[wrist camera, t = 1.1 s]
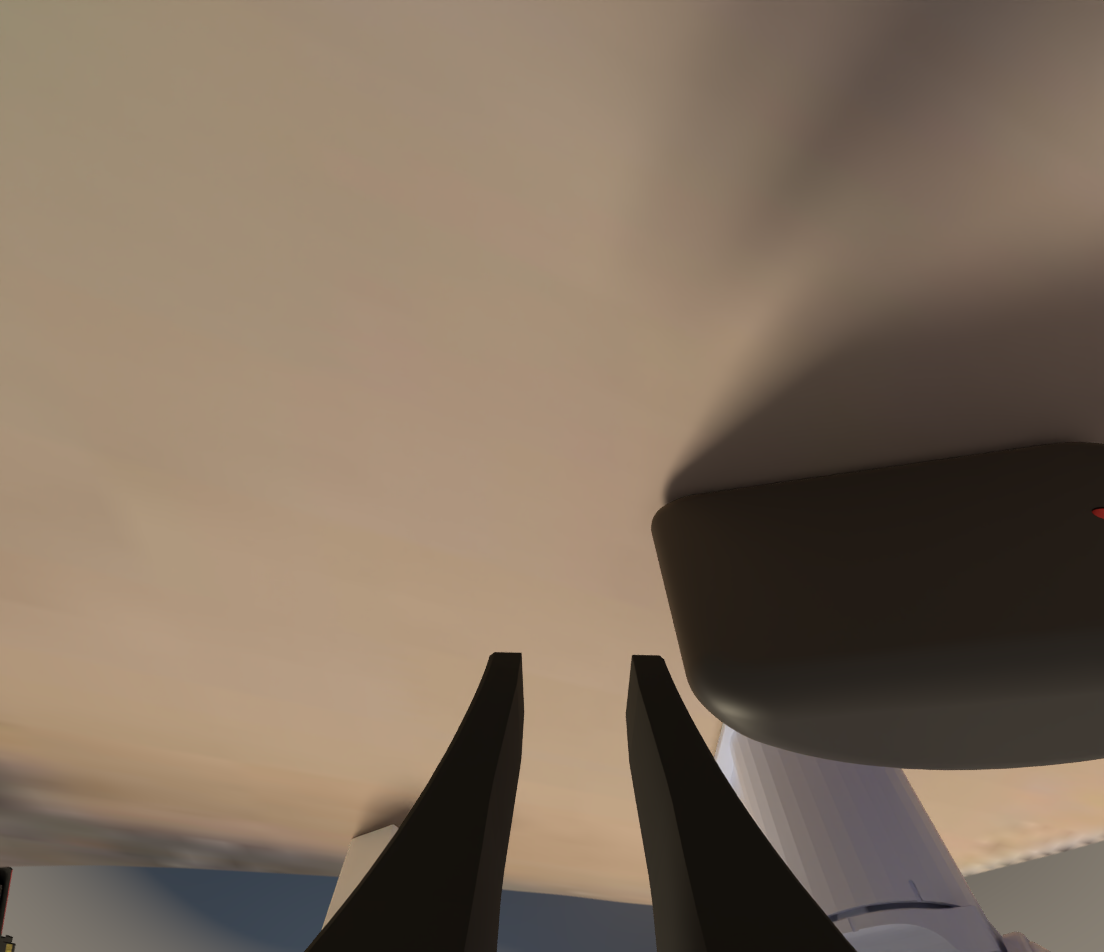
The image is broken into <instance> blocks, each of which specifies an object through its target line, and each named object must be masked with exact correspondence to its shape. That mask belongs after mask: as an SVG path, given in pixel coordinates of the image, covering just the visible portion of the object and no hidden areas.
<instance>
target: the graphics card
mask: <svg viewBox="0 0 1104 952" xmlns="http://www.w3.org/2000/svg"><path fill="white" fill-rule="evenodd" d="M12 872H13V869H12V868H11V867H0V952H14V951H15V946H16V944H15V943H11V942H12V940H13V937H12V936H9V935H6V936H5V937H3V936H2V930H3V925H4V919H5V912H6V907H7V901H8V895H9V889H10V883H11V878H12Z"/></svg>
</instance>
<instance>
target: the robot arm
mask: <svg viewBox="0 0 1104 952" xmlns="http://www.w3.org/2000/svg"><path fill="white" fill-rule="evenodd" d="M523 723H524V697H523V675H522V654H521V653H504V652H494V653H493V654H492V655H490V657H489V660H488V663H487V666H486V669H485V671H484V674H483V677H482V679H481V682H480V684H479V686H478V689H477V691H476V693H475V695H474V698H473V700H472V702H471V704H470V706H469V708H468V711H467V712H466V714H465V716H464V718H463V720H462V722H461V724H460V726H459V728H458V730H457V732H456V734H455V736H454V738H453V740H452V742H451V744H450V745H449V747H448V749H447V751H446V753H445V754H444V756H443V758H442V760H441V761H440V763H439V765H438V766H437V768H436V770H435V772H434V773H433V775H432V777H431V779H430V780H429V782H428V784H427V785H426V787H425V789H424V790H423V792H422V793H421V795H420V797H419V798H418V800H417V801H416V803H415V804H414V806H413V808H412V809H411V811H410V812H409V814H408V815H407V817H406V818H405V820H404V821H403V823H402V824H401V826H400V827H399V829H398V830H397V832H396V833H395V835H394V836H393V837H392V839H391V840H390V842H389V843H388V844H387V846H386V847H385V849H384V850H383V851H382V853H381V854H380V856H379V857H378V858H377V860H376V861H375V863H374V864H373V865H372V867H371V868H370V869H369V871H368V872H367V873H366V875H365V876H364V877H363V879H362V880H361V881H360V883H359V884H358V885H357V887H356V888H355V889H354V891H353V892H352V893H351V895H350V896H349V897H348V898H347V900H346V901H345V902H344V903H343V904H342V906H341V907H340V908H339V909H338V911H337V912H336V913H335V914H334V916H333V917H332V918H331V919H330V921H329V922H328V923H327V924H326V926H325V927H324V928H323V929H322V930H321V932H320V933H319V934H318V935H317V937H316V938H315V939H314V940H313V942H312V943H311V944H310V945H309V947H308V948H307V949H306V950H305V951H304V952H497V939H498V927H499V914H500V901H501V892H502V884H503V876H504V868H505V862H506V855H507V849H508V843H509V836H510V830H511V823H512V817H513V810H514V804H515V797H516V791H517V784H518V778H519V771H520V764H521V755H522V739H523ZM626 723H627V738H628V751H629V763H630V769H631V775H632V781H633V787H634V793H635V799H636V804H637V810H638V816H639V822H640V828H641V834H642V839H643V845H644V851H645V857H646V863H647V869H648V874H649V881H650V888H651V896H652V903H653V914H654V924H655V935H656V945H657V952H1050V951H1049V950H1047V949H1045V948H1043V947H1042V946H1040V945H1038V944H1036V943H1035V942H1030V941H1029V940H1028V939H1027V937H1026V936H1025V935H1024V934H1022V933H1020V932H1012V933H1008V934H1004V935H1003V937H1002V936H1001V935H1000V933H999V932H998V931H997V930H996V929H995V928H994V926H993V925H992V924H991V923H990V922H989V920H988V919H987V917H986V916H985V914H984V912H983V910H982V909H981V907H980V905H979V903H978V902H977V900H976V898H975V896H974V895H973V893H972V891H971V889H970V888H969V886H968V884H967V882H966V881H965V879H964V877H963V875H962V874H961V872H960V870H959V868H958V867H957V865H956V863H955V861H954V860H953V858H952V856H951V854H950V853H949V851H948V849H947V847H946V846H945V844H944V842H943V840H942V839H941V837H940V835H939V833H938V832H937V830H936V828H935V826H934V825H933V823H932V821H931V819H930V818H929V816H928V814H927V812H926V811H925V809H924V807H923V805H922V804H921V802H920V800H919V798H918V797H917V795H916V793H915V791H914V790H913V788H912V786H911V784H910V783H909V781H908V779H907V777H906V776H905V774H904V772H903V770H902V769H901V768H891V767H880V766H869V765H861V764H853V763H846V762H840V761H834V760H828V759H822V758H817V757H813V756H808V755H803V754H799V753H795V752H791V751H787V750H783V749H780V748H777V747H773V746H770V745H767V744H764V743H761V742H758V741H755V740H752V739H750V738H748V737H746V736H744V735H742V734H740V733H738V732H736V731H735V730H733V729H731V728H730V727H728V726H727V725H726V724H724V723H723V725H722V729H721V733H720V737H719V741H718V745H717V748H716V752H715V756H714V757H713V756H712V754H711V752H710V750H709V749H708V747H707V745H706V743H705V742H704V740H703V738H702V736H701V735H700V733H699V731H698V729H697V728H696V726H695V724H694V722H693V720H692V718H691V716H690V715H689V713H688V711H687V709H686V707H685V705H684V703H683V701H682V699H681V697H680V695H679V693H678V691H677V689H676V686H675V684H674V682H673V680H672V678H671V675H670V673H669V671H668V668H667V666H666V664H665V661H664V659H663V658H662V657H661V656H657V655H632V661H631V670H630V680H629V689H628V698H627V708H626Z"/></svg>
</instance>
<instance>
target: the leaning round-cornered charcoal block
mask: <svg viewBox="0 0 1104 952" xmlns="http://www.w3.org/2000/svg"><path fill="white" fill-rule="evenodd" d="M651 531H652V536H653V540H654V544H655V548H656V552H657V557H658V561H659V565H660V569H661V573H662V577H663V581H664V586H665V590H666V594H667V598H668V602H669V606H670V611H671V615H672V619H673V623H674V627H675V631H676V635H677V640H678V644H679V648H680V652H681V656H682V660H683V665H684V669H685V673H686V677H687V680H688V683H689V685H690V687H691V689H692V691H693V693H694V695H695V696H696V697H697V699H698V700H699V701H700V702H701V704H702V705H703V706H704V707H705V708H706V709H707V710H708V711H710V712H711V713H712V714H713V715H714V716H715V717H716V718H718V719H719V720H720V721H721V722H723V723H724V724H726V725H727V726H728V727H730V728H731V729H733V730H735V731H736V732H738V733H740V734H742V735H744V736H746V737H748V738H750V739H752V740H755V741H758V742H761V743H764V744H767V745H770V746H773V747H777V748H780V749H783V750H787V751H791V752H795V753H799V754H803V755H808V756H813V757H817V758H822V759H828V760H834V761H840V762H846V763H853V764H861V765H869V766H880V767H891V768H904V769H926V770H981V769H1006V768H1021V767H1033V766H1046V765H1055V764H1064V763H1073V762H1082V761H1089V760H1096V759H1103V758H1104V444H1099V443H1087V442H1065V443H1054V444H1047V445H1040V446H1033V447H1026V448H1019V449H1012V450H1005V451H998V452H991V453H984V454H977V455H970V456H963V457H956V458H949V459H942V460H935V461H928V462H921V463H914V464H907V465H900V466H893V467H886V468H879V469H872V470H865V471H858V472H851V473H844V474H837V475H830V476H823V477H816V478H809V479H802V480H795V481H788V482H781V483H774V484H767V485H760V486H753V487H746V488H739V489H732V490H725V491H718V492H711V493H704V494H697V495H691V496H687V497H683V498H680V499H677V500H675V501H672V502H670V503H669V504H667V505H665V506H664V507H662V508H661V509H660V510H658V511H657V513H656V514H655V516H654V518H653V520H652V525H651Z"/></svg>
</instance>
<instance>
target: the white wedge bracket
mask: <svg viewBox="0 0 1104 952" xmlns="http://www.w3.org/2000/svg"><path fill="white" fill-rule="evenodd" d="M398 829H399V828H398V827H397V826H395V825H394V824H392V825H389V826H387V827H384V828H381V829H378V830H375V831H373V832H370V833H367V834H364V835H361V836H358V837H356V838H353V839H351V842H350V845H349V849H348V852H347V855H346V858H345V861H344V864H343V867H342V870H341V873H340V876H339V879H338V882H337V885H336V888H335V891H334V894H333V897H332V900H331V903H330V906H329V909H328V912H327V915H326V918H325V921H324V924H323V927H322V929H323V928H324V927H325V926H326V924H327V923H328V922H329V921H330V919H331V918H332V917H333V916H334V914H335V913H336V912H337V911H338V909H339V908H340V907H341V906H342V904H343V903H344V902H345V901H346V900H347V898H348V897H349V896H350V895H351V893H352V892H353V891H354V889H355V888H356V887H357V885H358V884H359V883H360V881H361V880H362V879H363V877H364V876H365V875H366V873H367V872H368V871H369V869H370V868H371V867H372V865H373V864H374V863H375V861H376V860H377V858H378V857H379V856H380V854H381V853H382V851H383V850H384V849H385V847H386V846H387V844H388V843H389V842H390V840H391V839H392V837H393V836H394V835H395V833H396V832H397V830H398Z"/></svg>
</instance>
